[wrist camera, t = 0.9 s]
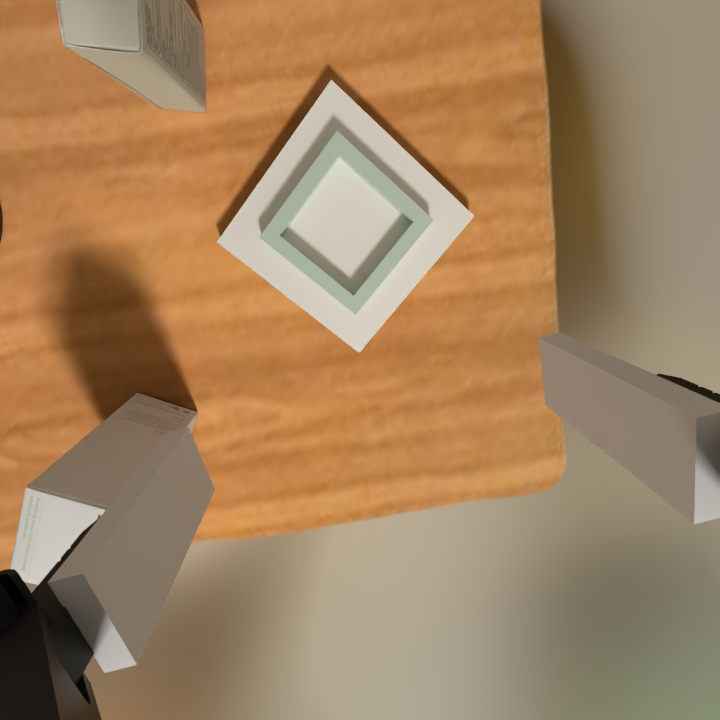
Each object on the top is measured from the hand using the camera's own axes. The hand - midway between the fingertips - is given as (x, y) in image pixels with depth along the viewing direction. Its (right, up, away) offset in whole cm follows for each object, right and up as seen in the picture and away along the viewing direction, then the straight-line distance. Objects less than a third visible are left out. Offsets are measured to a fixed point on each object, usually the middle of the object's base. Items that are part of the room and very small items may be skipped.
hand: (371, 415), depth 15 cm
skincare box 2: (-21, -6, +27) cm, 35 cm away
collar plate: (-2, +14, +22) cm, 26 cm away
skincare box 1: (-15, +26, +18) cm, 35 cm away
